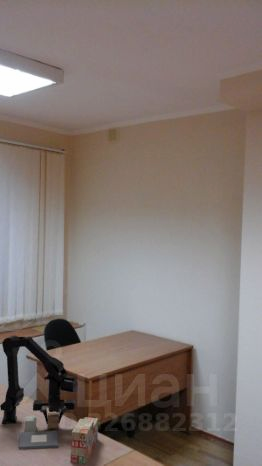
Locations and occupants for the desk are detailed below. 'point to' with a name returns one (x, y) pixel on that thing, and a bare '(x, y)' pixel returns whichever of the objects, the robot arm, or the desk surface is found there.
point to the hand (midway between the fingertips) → (53, 423)
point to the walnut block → (53, 420)
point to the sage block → (30, 423)
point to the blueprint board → (38, 440)
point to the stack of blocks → (83, 439)
